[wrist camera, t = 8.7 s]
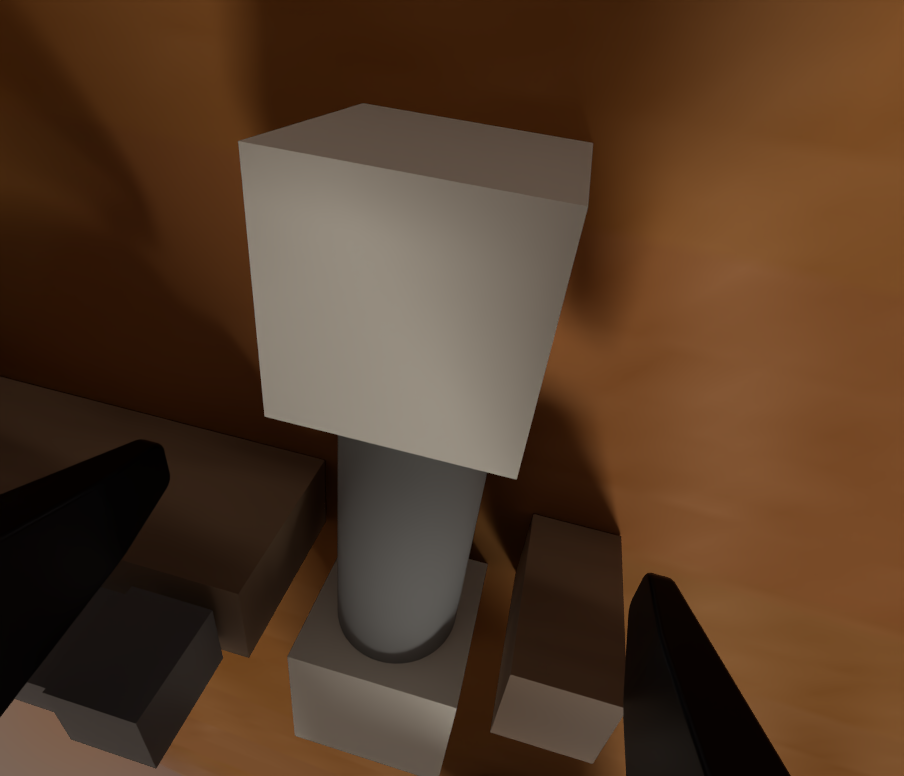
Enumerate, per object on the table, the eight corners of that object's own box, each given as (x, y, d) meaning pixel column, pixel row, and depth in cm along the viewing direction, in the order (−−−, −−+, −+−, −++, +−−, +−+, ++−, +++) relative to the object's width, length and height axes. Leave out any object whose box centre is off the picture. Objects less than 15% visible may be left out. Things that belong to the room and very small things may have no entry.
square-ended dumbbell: (468, 641, 18) (437, 781, 14) (350, 607, 18) (295, 735, 15) (593, 142, 9) (587, 207, 6) (363, 102, 9) (238, 141, 6)
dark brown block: (594, 594, 15) (592, 764, 11) (-91, 408, 17) (-261, 500, 14) (621, 536, 13) (627, 709, 10) (-127, 343, 16) (-325, 428, 13)
